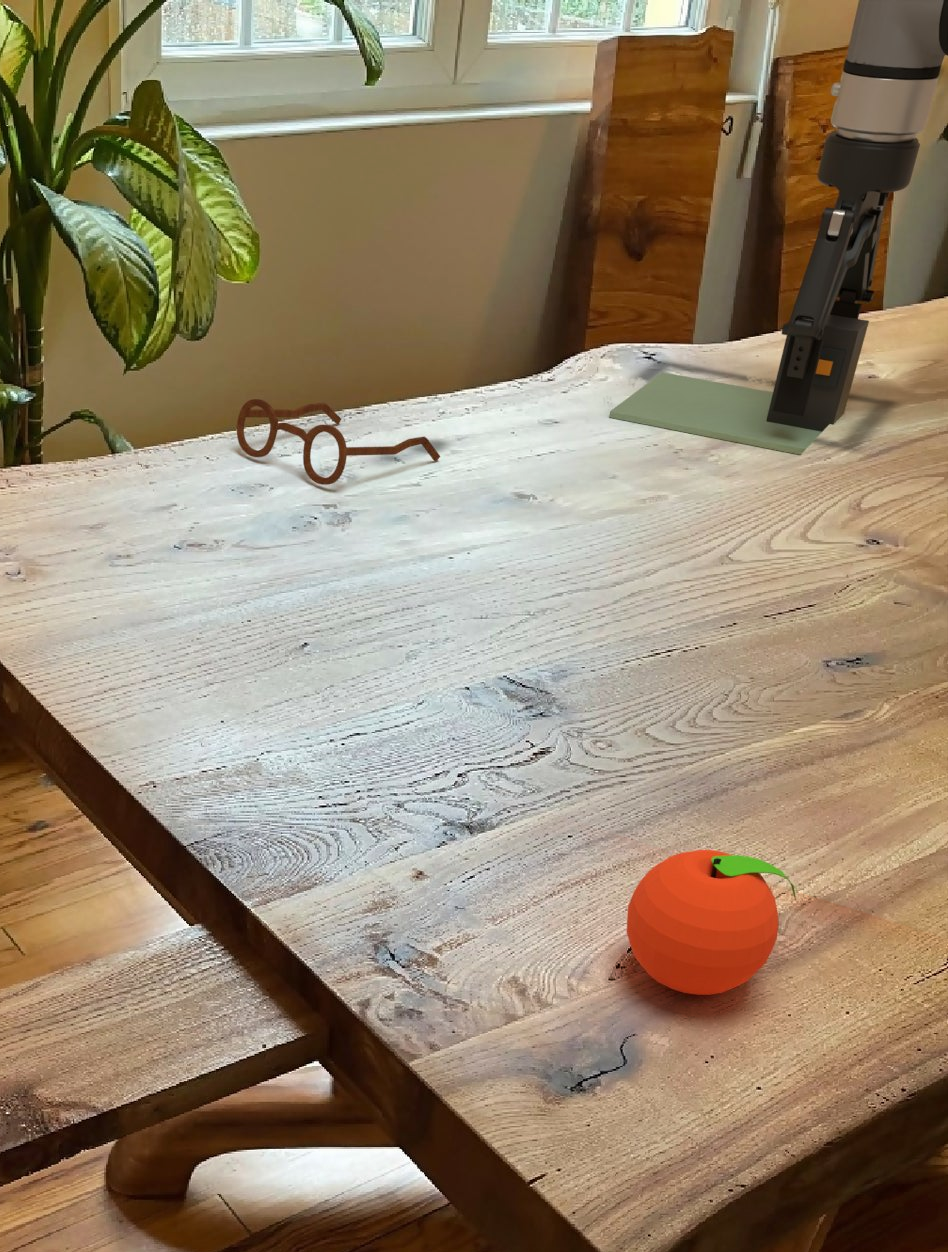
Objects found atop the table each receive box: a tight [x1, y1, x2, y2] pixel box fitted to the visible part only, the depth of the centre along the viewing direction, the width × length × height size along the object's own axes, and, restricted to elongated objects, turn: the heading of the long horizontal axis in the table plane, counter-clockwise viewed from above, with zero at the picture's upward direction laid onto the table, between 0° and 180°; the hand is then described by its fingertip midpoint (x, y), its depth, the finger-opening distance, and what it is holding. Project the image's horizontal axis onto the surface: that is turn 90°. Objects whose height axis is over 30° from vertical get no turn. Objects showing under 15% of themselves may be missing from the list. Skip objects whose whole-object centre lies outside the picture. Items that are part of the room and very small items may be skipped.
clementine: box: [626, 849, 797, 996], centre depth 70 cm, size 8×7×7 cm
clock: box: [766, 315, 870, 433], centre depth 135 cm, size 6×4×9 cm
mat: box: [608, 371, 848, 456], centre depth 140 cm, size 22×15×1 cm
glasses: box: [236, 398, 441, 486], centre depth 128 cm, size 13×13×5 cm
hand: (808, 393), depth 136 cm, fingers open, 13 cm apart
